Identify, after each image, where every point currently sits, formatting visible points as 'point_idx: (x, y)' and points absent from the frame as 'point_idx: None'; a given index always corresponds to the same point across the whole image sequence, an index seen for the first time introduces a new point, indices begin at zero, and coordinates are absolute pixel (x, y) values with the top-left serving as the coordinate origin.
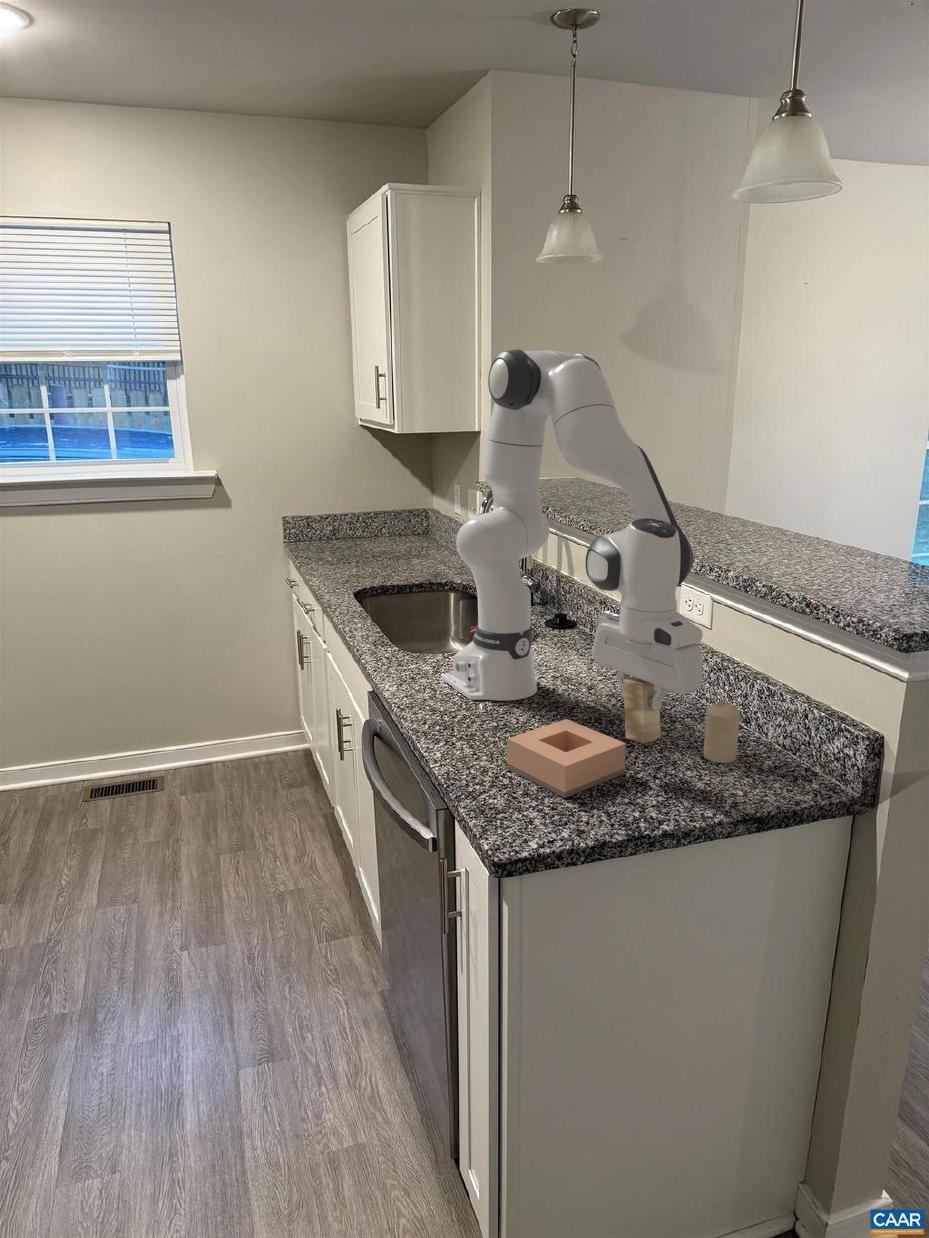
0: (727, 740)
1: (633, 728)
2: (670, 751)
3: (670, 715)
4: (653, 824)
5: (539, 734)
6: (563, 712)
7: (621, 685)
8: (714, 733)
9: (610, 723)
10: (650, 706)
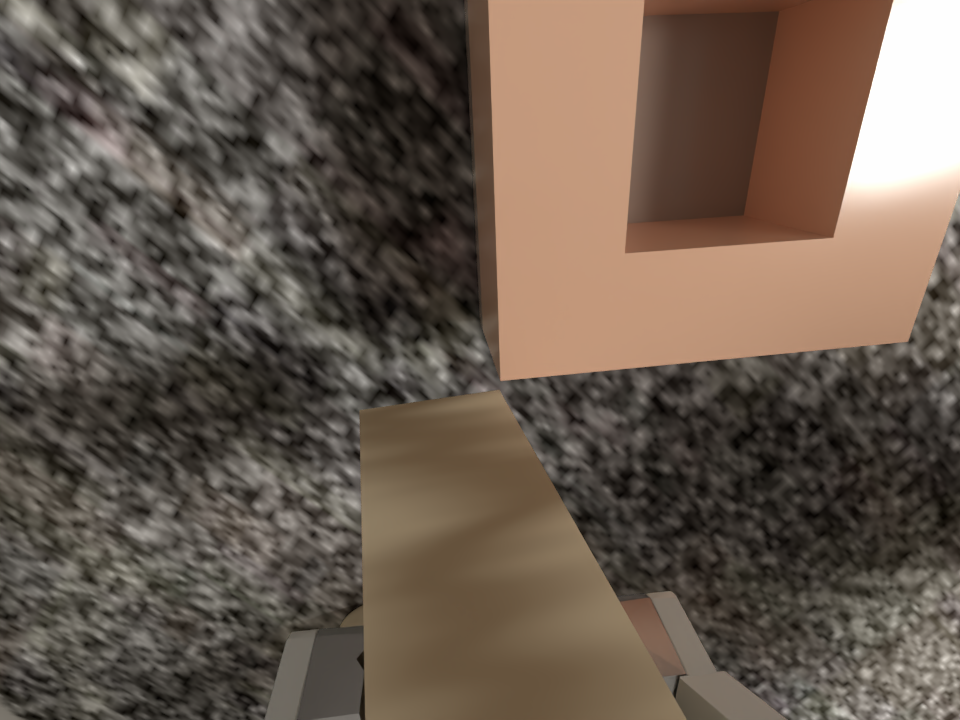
0: None
1: (452, 437)
2: None
3: None
4: (7, 67)
5: (936, 48)
6: (956, 476)
7: (736, 693)
8: None
9: (780, 537)
10: (337, 639)
